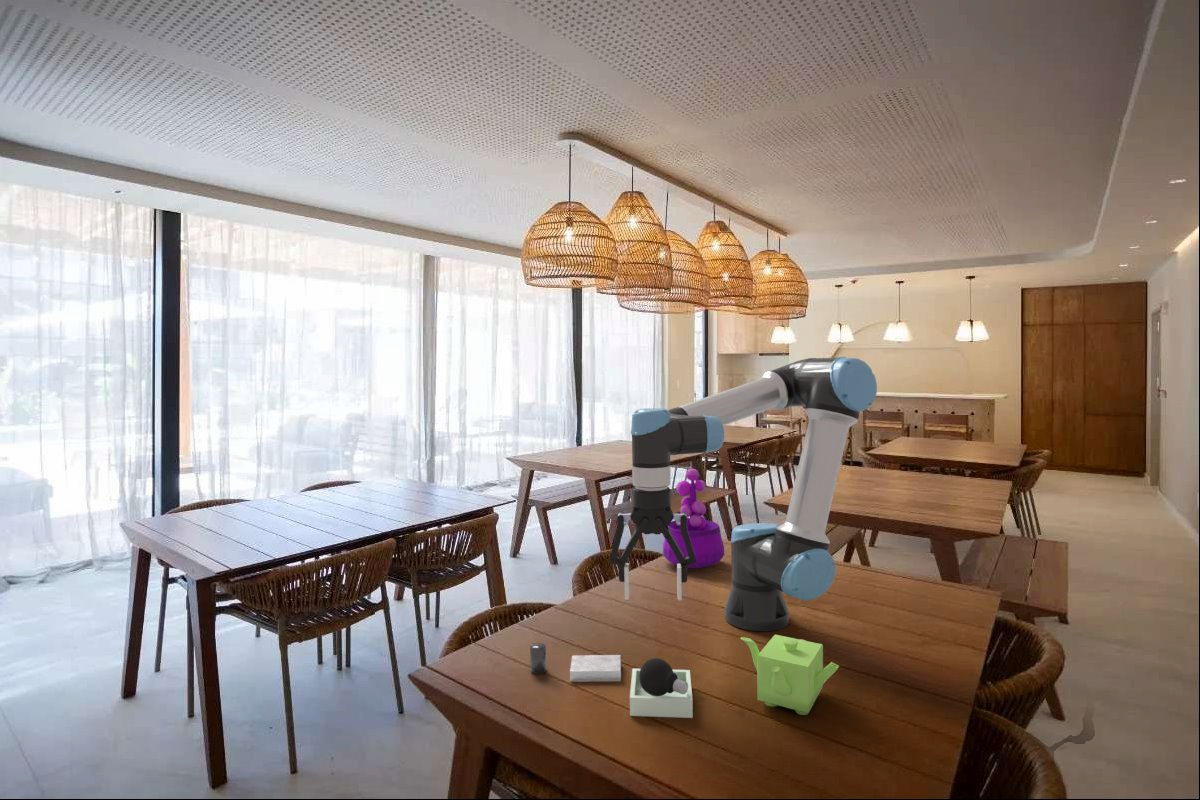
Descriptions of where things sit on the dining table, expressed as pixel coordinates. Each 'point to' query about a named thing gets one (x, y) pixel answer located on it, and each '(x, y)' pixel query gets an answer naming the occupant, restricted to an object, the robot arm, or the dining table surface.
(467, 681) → the dining table surface
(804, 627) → the dining table surface
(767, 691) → the kettle
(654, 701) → the tray
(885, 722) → the dining table surface
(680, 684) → the light bulb
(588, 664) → the white stone flat block
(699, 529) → the decorative plant
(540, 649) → the cylinder
